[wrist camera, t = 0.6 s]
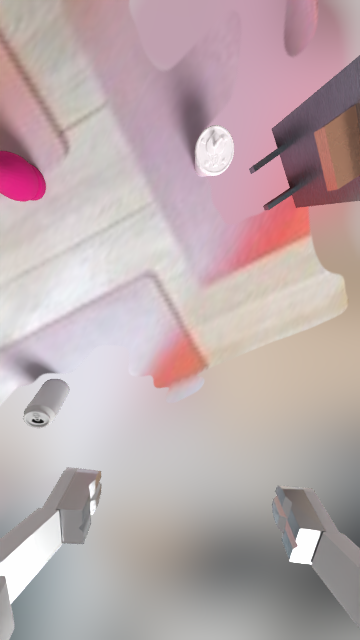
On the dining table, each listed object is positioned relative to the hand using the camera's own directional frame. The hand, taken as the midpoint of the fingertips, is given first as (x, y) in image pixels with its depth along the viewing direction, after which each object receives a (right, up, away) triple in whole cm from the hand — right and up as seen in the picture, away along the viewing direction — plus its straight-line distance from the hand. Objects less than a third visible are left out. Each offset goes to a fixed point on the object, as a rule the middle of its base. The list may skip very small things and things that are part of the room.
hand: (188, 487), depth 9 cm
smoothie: (+4, +39, +32) cm, 51 cm away
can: (-38, -13, +53) cm, 66 cm away
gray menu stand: (+19, +38, +34) cm, 54 cm away
